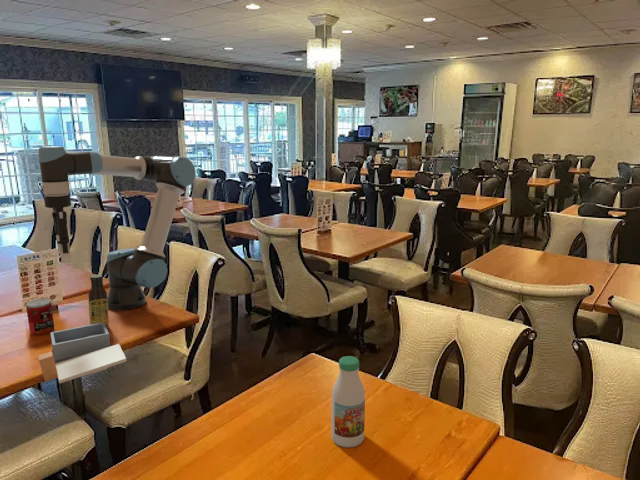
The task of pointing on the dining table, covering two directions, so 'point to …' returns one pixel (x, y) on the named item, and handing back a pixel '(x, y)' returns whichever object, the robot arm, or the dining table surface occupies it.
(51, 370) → the lid
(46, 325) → the canned food
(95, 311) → the sauce bottle
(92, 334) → the tub
